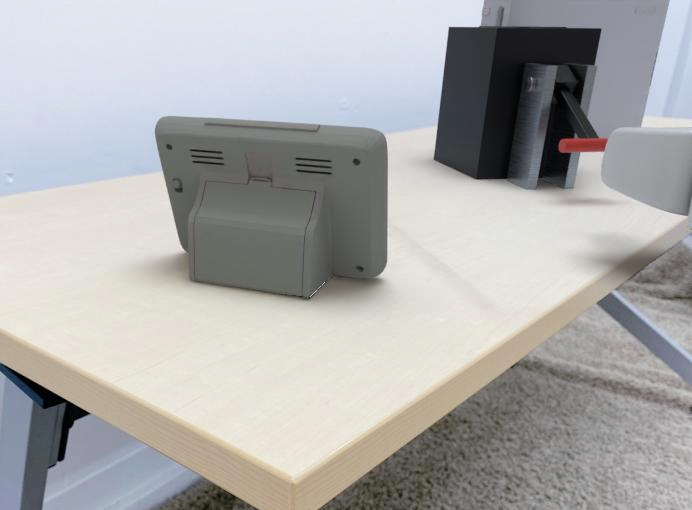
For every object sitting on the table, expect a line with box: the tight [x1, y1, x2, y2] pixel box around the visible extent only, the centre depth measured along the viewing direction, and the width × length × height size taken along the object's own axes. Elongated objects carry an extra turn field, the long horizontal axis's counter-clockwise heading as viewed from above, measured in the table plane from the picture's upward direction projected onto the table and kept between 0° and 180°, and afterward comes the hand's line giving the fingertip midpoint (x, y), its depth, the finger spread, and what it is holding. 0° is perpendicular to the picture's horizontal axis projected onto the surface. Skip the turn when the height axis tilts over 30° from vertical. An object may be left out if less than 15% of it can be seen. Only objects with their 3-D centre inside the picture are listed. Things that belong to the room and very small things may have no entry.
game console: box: [479, 0, 671, 138], centre depth 93 cm, size 6×27×20 cm, turn 115°
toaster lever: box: [551, 65, 608, 153], centre depth 67 cm, size 11×6×2 cm
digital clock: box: [154, 115, 389, 298], centre depth 48 cm, size 16×9×11 cm, turn 55°
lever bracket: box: [506, 63, 597, 190], centre depth 71 cm, size 5×7×13 cm
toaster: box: [433, 25, 602, 181], centre depth 78 cm, size 12×11×16 cm
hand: (684, 141), depth 53 cm, fingers open, 8 cm apart
